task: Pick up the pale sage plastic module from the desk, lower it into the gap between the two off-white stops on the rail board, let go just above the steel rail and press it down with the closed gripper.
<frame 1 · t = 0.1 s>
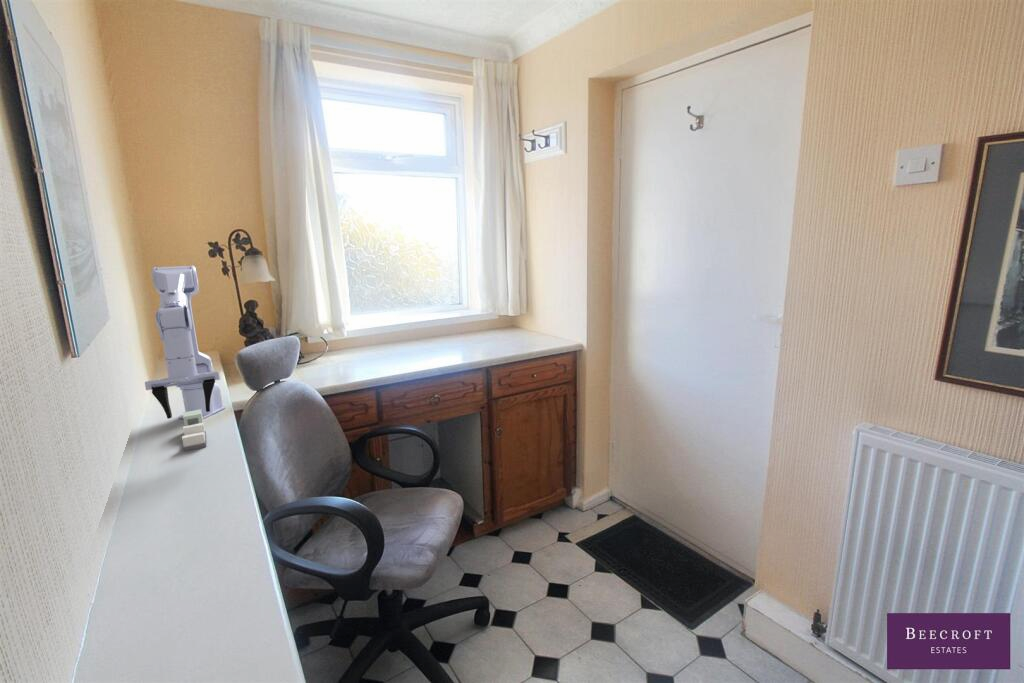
hand: (189, 414, 114), 10 cm above the table, fingers open, 7 cm apart
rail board: (195, 442, 123), on the table
sage module: (195, 432, 130), on the table
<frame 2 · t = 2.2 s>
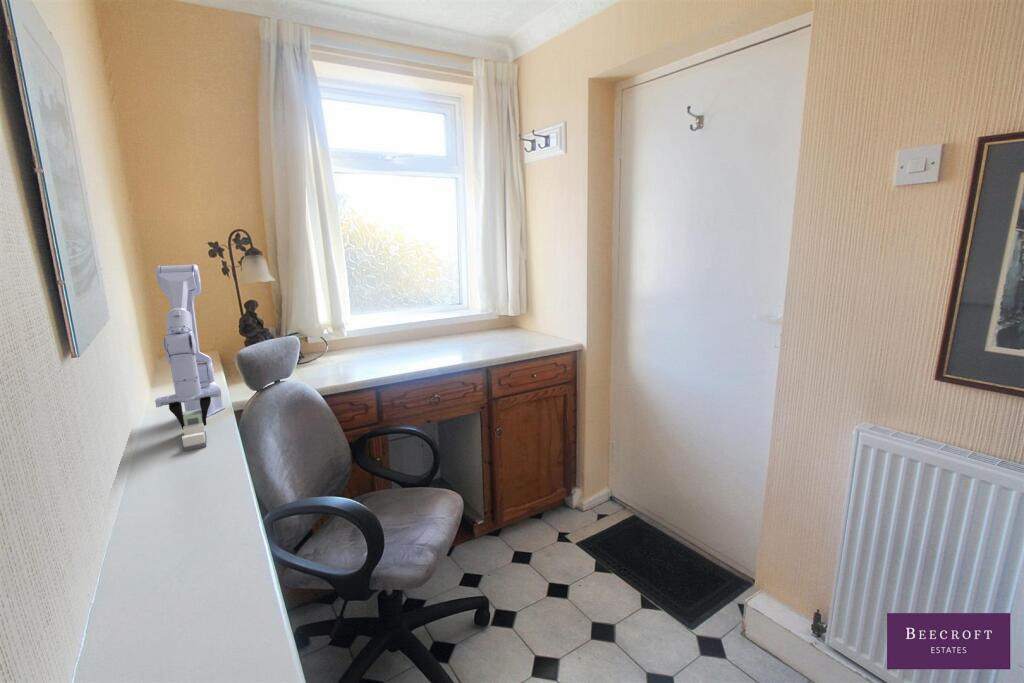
hand: (194, 426, 130), 2 cm above the table, fingers closed on sage module, 4 cm apart
sage module: (195, 431, 130), on the table, touching gripper
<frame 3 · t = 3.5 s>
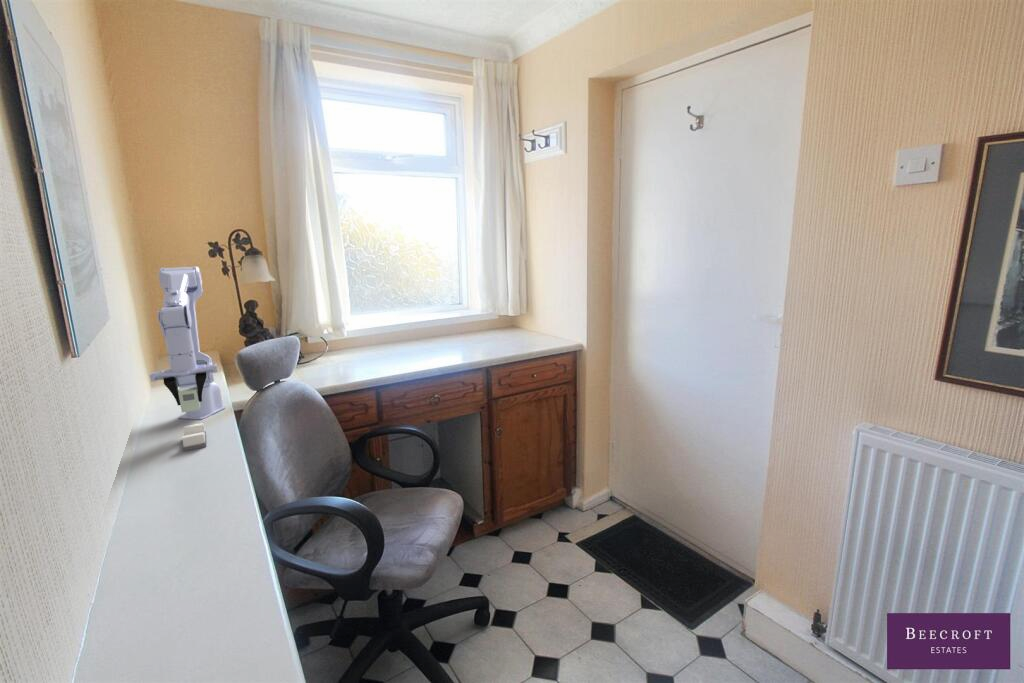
hand: (190, 402, 127), 9 cm above the table, fingers closed on sage module, 4 cm apart
sage module: (191, 408, 128), point 7 cm above the table, touching gripper
when the fingers open (4 cm above the table, at t = 5.2 s): sage module stays where it is, resting on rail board.
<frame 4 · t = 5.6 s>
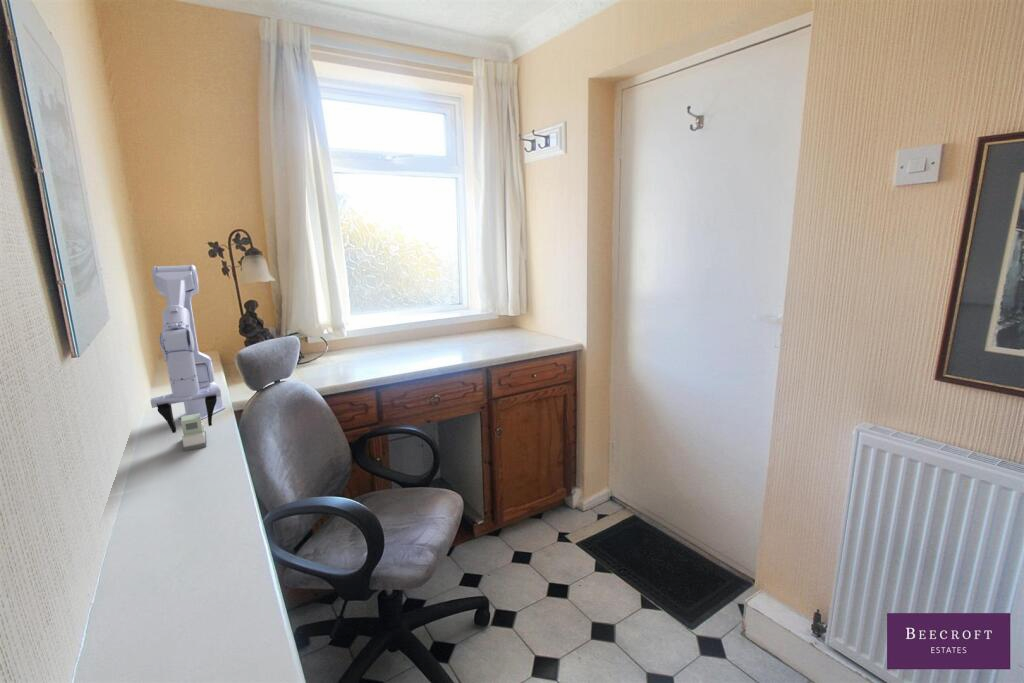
hand: (192, 427, 122), 4 cm above the table, fingers open, 7 cm apart
sage module: (194, 437, 123), point 1 cm above the table, touching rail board
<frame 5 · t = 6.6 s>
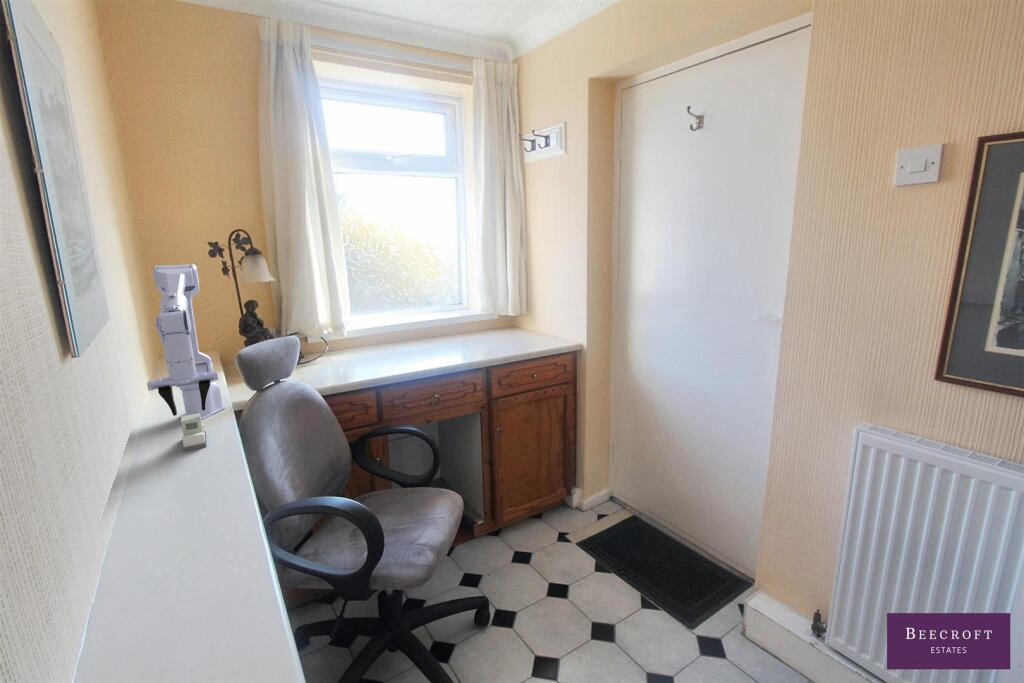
hand: (189, 411, 121), 8 cm above the table, fingers open, 5 cm apart
nothing on the table moved.
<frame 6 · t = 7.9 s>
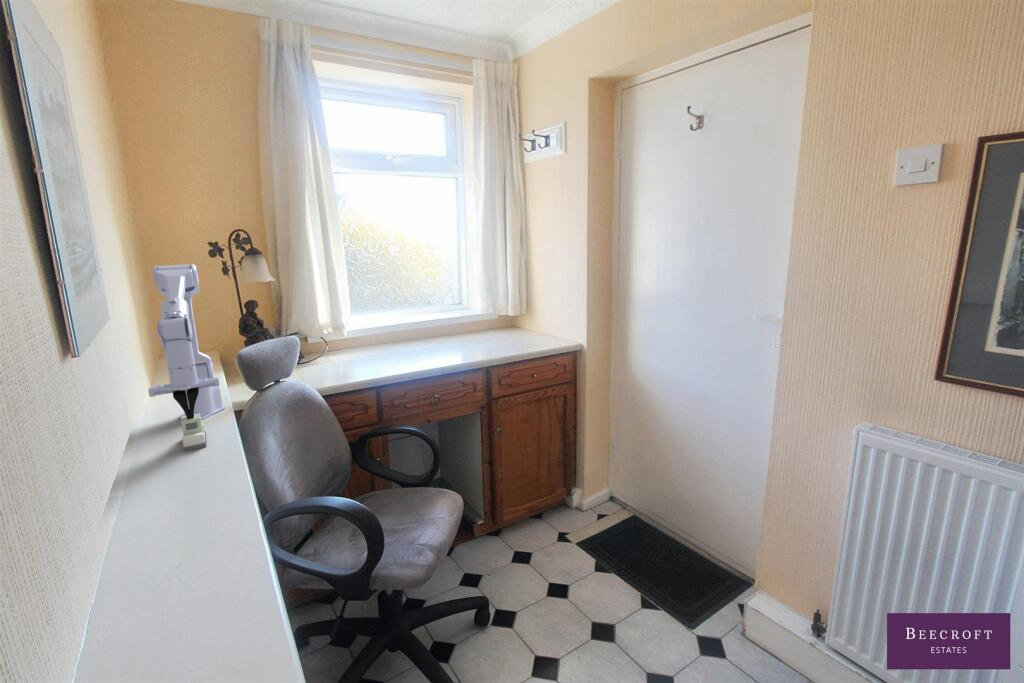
hand: (190, 417, 122), 7 cm above the table, fingers closed, pressing on sage module
sage module: (194, 437, 123), point 1 cm above the table, touching gripper, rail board
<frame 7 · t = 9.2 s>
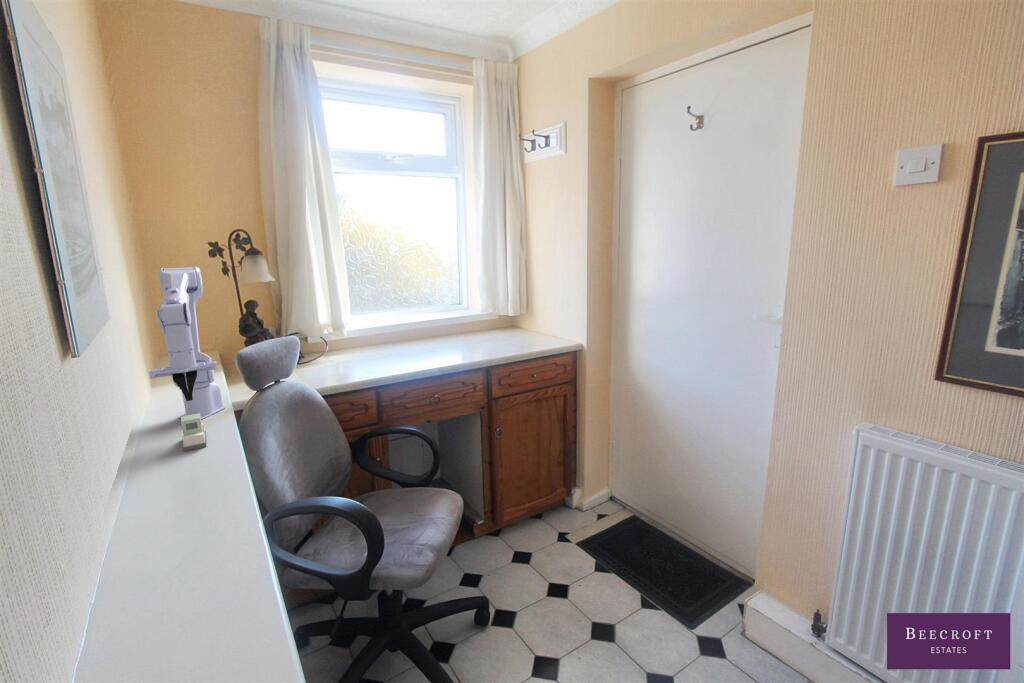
hand: (189, 399, 127), 9 cm above the table, fingers closed
sage module: (194, 437, 123), point 1 cm above the table, touching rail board
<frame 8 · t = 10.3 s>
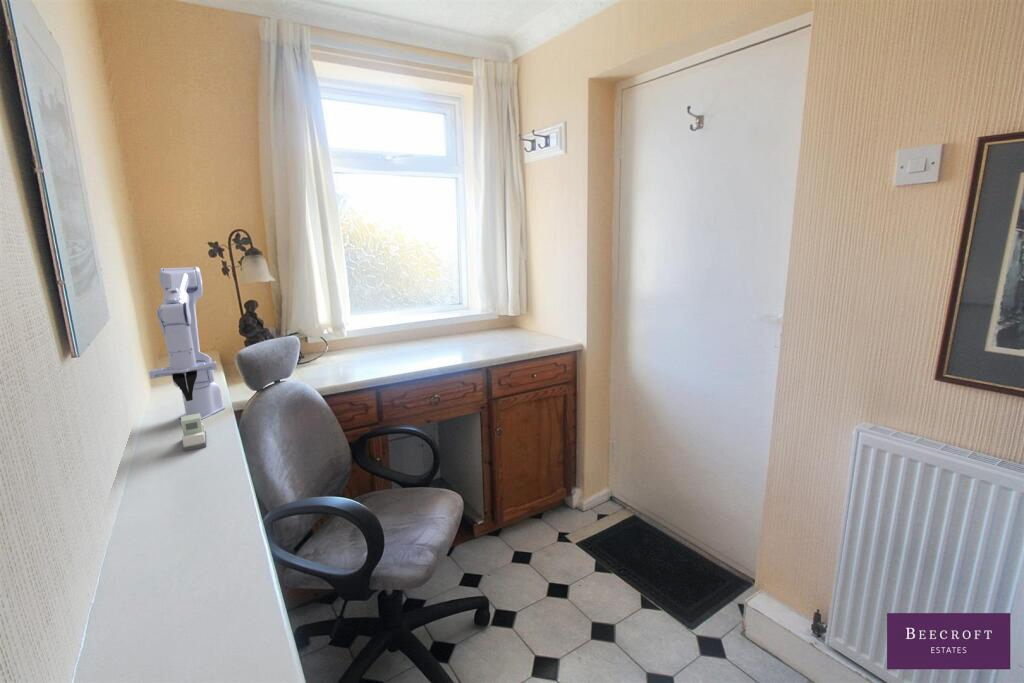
hand: (189, 399, 127), 9 cm above the table, fingers closed
nothing on the table moved.
at the end: sage module 0.1 cm off-centre on the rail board, point 1.4 cm above the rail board's base; sage module tilted 0°; the gripper is holding nothing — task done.
